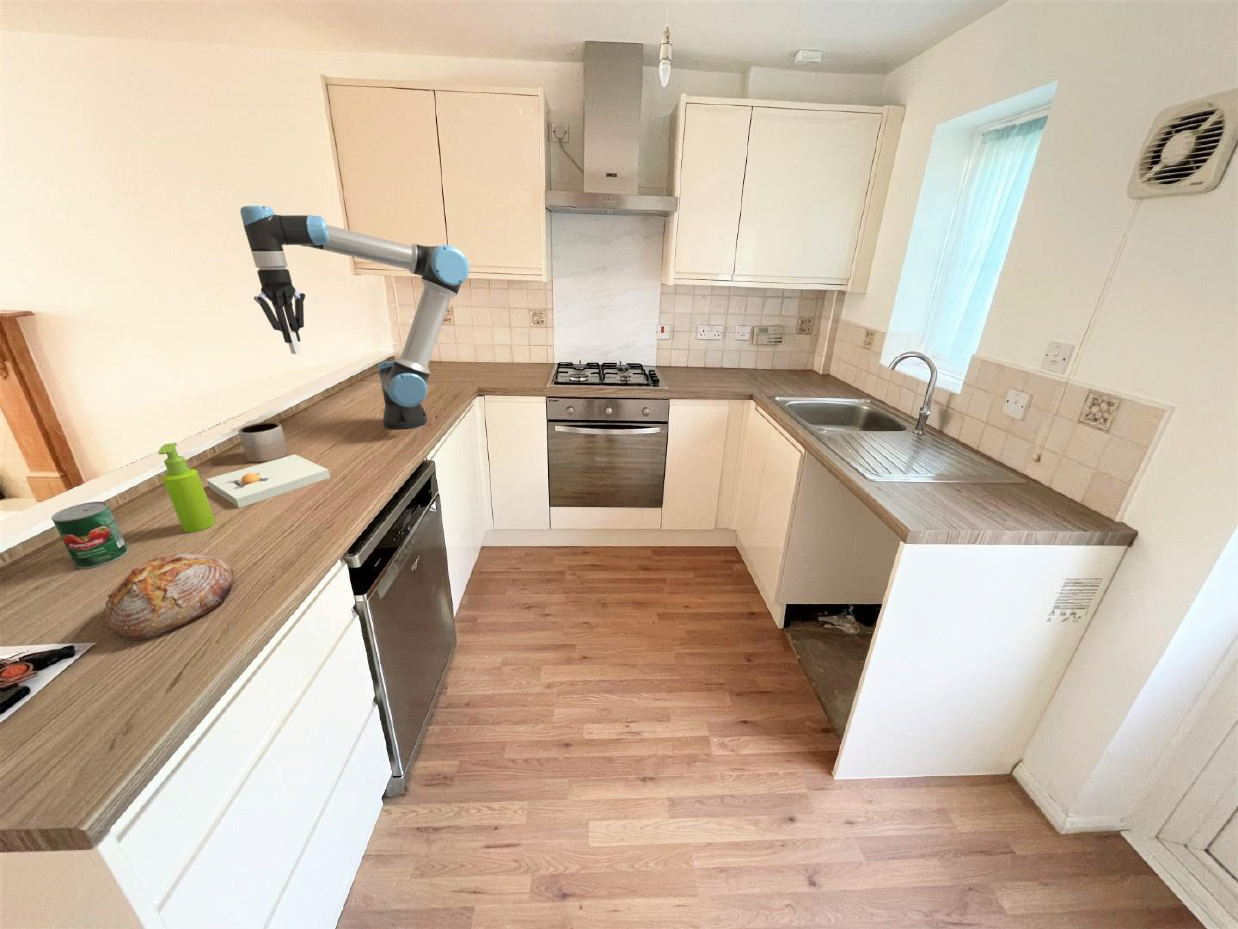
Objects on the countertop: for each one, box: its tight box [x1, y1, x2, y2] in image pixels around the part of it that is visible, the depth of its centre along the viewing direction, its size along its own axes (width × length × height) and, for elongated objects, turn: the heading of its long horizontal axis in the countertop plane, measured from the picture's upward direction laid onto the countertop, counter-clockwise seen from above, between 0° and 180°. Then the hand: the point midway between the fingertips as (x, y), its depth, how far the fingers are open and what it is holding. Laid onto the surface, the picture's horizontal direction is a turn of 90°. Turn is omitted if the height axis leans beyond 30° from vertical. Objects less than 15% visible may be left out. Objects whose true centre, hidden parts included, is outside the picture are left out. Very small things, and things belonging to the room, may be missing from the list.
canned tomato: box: [50, 501, 129, 570], centre depth 99 cm, size 8×8×11 cm
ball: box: [241, 473, 260, 485], centre depth 130 cm, size 4×4×4 cm
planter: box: [237, 421, 290, 464], centre depth 151 cm, size 11×11×10 cm
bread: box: [104, 552, 234, 641], centre depth 86 cm, size 16×20×10 cm
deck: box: [205, 453, 331, 509], centre depth 134 cm, size 22×20×2 cm
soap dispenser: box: [157, 442, 217, 533], centre depth 109 cm, size 6×7×20 cm
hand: (296, 353), depth 147 cm, fingers closed
